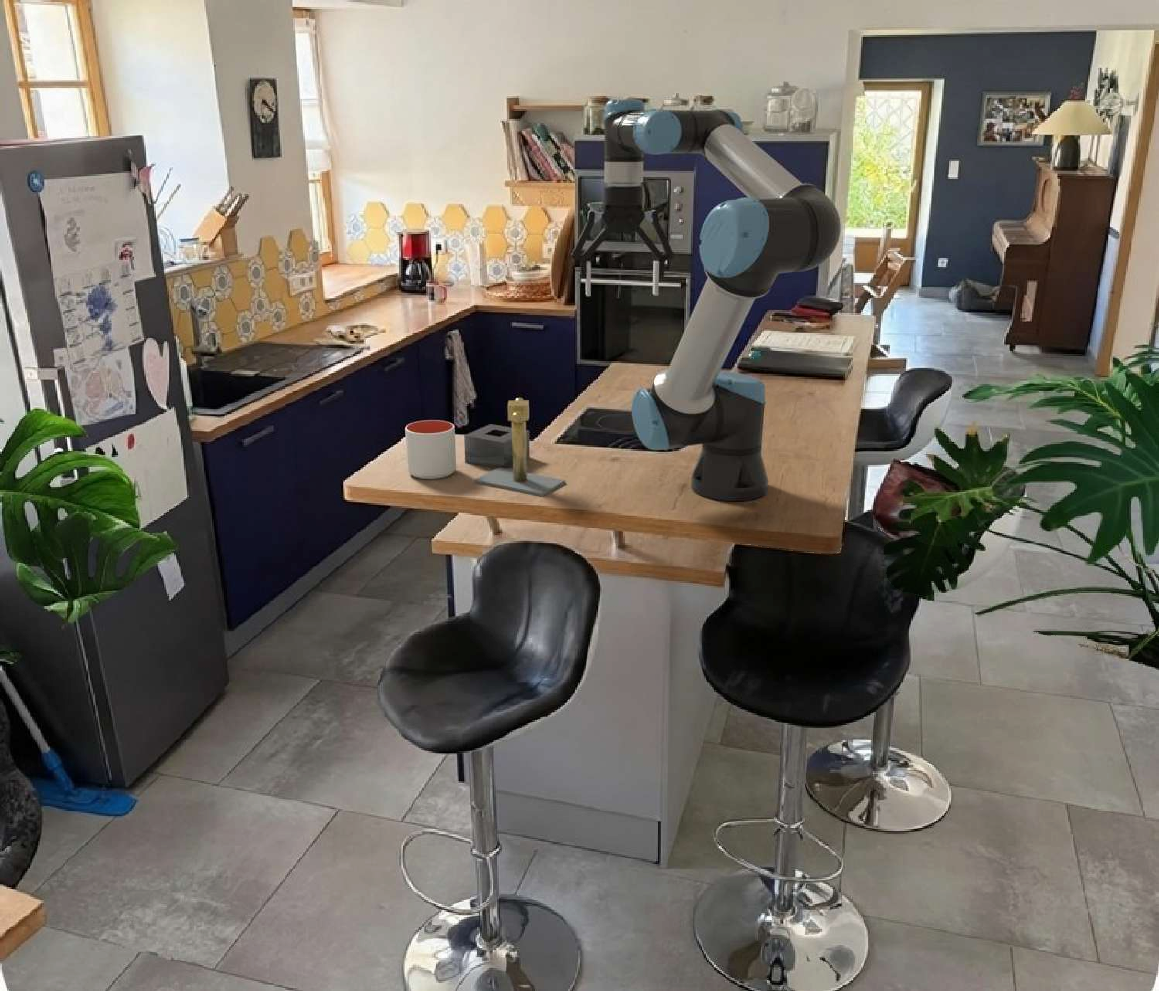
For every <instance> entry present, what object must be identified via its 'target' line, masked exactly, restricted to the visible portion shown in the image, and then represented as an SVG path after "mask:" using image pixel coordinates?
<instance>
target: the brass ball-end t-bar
mask: <svg viewBox="0 0 1159 991" xmlns="http://www.w3.org/2000/svg"><path fill="white" fill-rule="evenodd" d="M529 402H530V400H527V399H526V400H524V399H523V398H522V397H517V398H515V400H508V402H507V422H508V421H509V422H511V428H512V451H513V466H512V470H513V480H514V481H515V482H525V481H527V473H528V463H527V462H528V458H527V451H526V430H527V422H526V421H529V420H530V419H529V418H530V406H529V405H530V404H529Z"/></svg>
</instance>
